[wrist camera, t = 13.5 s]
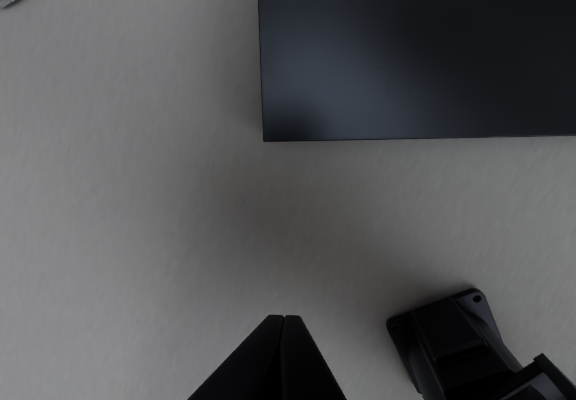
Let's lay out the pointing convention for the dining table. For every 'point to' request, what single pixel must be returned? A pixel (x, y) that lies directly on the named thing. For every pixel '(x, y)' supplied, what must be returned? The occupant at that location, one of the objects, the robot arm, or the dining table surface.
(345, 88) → the laptop screen
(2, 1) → the flask
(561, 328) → the dining table surface
